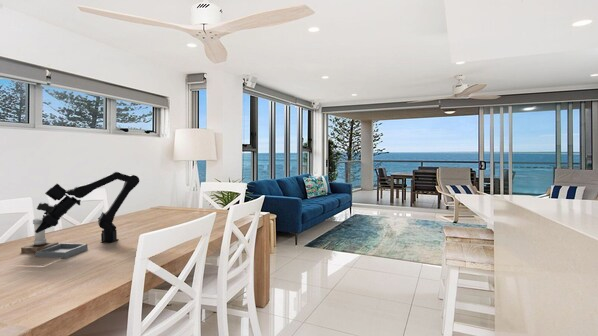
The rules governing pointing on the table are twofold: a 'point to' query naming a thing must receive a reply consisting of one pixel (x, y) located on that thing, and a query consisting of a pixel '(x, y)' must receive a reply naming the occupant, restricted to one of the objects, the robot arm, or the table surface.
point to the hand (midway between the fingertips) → (36, 231)
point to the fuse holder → (37, 247)
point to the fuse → (39, 233)
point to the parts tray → (62, 250)
